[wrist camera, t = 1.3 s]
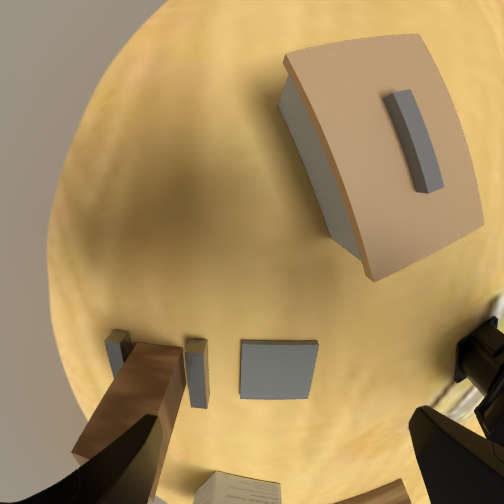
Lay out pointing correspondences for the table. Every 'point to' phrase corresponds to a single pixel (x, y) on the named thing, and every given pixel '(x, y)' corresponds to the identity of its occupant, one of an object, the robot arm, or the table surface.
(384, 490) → the block corral
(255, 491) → the supplement box
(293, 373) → the pad
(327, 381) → the table surface
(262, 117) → the table surface
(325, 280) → the table surface
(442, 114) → the toolbox
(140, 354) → the brown block
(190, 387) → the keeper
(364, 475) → the table surface
